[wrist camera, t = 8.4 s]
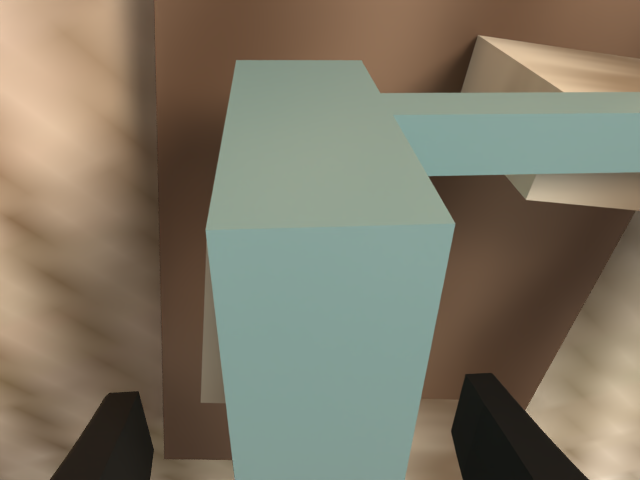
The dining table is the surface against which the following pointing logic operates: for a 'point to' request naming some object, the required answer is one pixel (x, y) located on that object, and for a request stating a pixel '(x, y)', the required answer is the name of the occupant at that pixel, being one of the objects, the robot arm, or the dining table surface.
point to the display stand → (455, 191)
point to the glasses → (359, 247)
